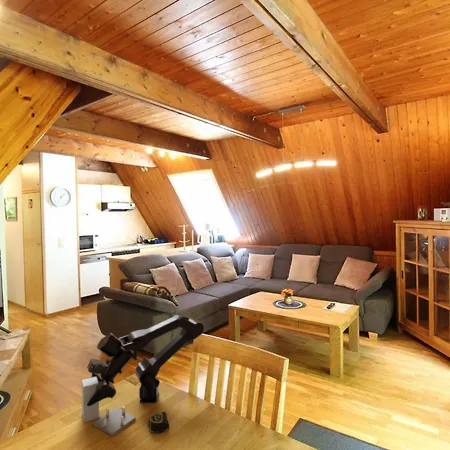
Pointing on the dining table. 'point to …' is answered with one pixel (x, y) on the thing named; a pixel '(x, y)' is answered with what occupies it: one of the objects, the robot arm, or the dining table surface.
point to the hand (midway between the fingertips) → (86, 399)
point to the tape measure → (158, 422)
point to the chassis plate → (114, 421)
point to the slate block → (87, 393)
